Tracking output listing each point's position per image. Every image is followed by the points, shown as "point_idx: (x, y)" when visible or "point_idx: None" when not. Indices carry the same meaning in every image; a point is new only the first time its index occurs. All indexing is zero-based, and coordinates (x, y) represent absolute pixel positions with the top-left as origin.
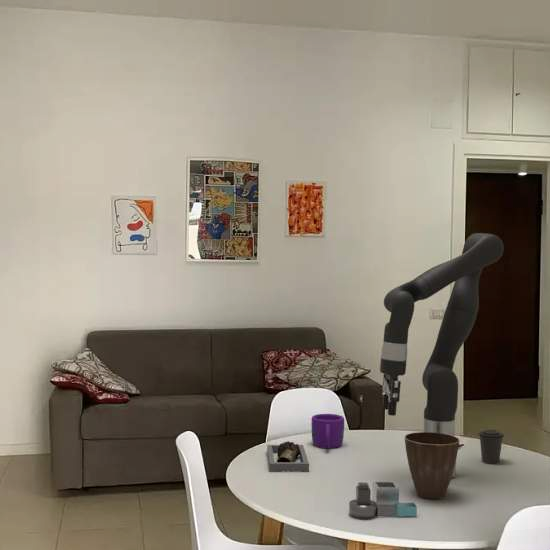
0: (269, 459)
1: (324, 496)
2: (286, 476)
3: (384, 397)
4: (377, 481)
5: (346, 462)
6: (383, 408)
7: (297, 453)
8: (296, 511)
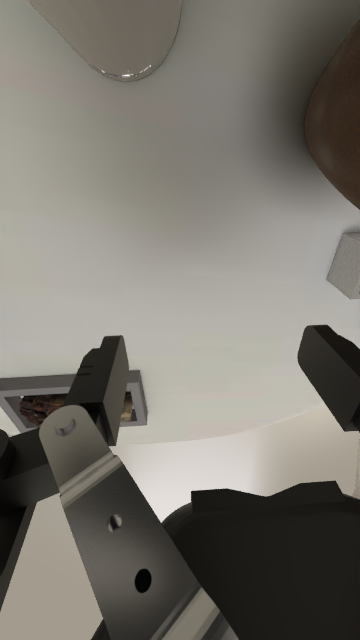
0: (121, 426)
1: (283, 351)
2: (170, 395)
3: (116, 439)
4: (354, 289)
5: (46, 307)
6: (128, 370)
7: (56, 395)
8: None
